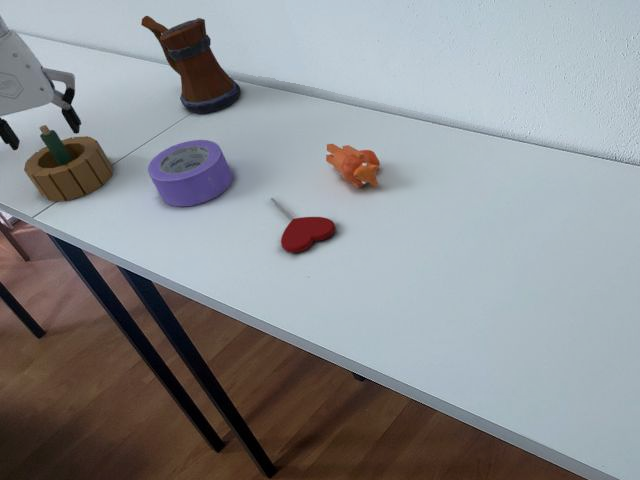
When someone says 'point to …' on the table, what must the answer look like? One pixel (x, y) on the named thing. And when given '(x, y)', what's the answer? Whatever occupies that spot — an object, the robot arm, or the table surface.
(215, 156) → the tape roll
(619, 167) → the table surface
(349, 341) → the table surface
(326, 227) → the lollipop
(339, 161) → the orange toy bird
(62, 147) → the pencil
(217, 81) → the mug
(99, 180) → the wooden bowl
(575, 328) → the table surface
